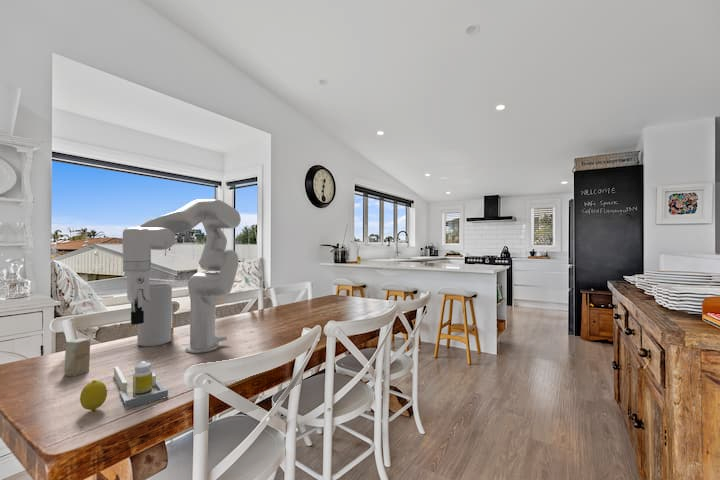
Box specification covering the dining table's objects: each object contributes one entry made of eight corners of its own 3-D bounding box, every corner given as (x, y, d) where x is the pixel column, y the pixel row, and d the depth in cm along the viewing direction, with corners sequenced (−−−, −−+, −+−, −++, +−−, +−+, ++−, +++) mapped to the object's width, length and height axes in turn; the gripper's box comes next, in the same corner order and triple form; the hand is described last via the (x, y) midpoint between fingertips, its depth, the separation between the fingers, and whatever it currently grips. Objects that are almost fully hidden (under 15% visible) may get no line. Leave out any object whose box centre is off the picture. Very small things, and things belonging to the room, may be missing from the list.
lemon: (89, 406, 90) (90, 376, 90) (111, 405, 91) (112, 375, 91) (74, 416, 85) (74, 385, 85) (97, 416, 85) (97, 384, 85)
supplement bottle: (155, 392, 99) (156, 363, 99) (139, 398, 95) (139, 369, 95) (145, 388, 101) (146, 360, 101) (129, 395, 97) (129, 366, 97)
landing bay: (159, 385, 104) (159, 378, 104) (167, 396, 96) (168, 389, 96) (119, 394, 97) (119, 388, 97) (125, 408, 89) (125, 400, 89)
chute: (144, 369, 116) (144, 360, 116) (155, 385, 104) (156, 375, 104) (114, 376, 110) (114, 366, 110) (122, 393, 98) (122, 383, 98)
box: (74, 376, 109) (75, 342, 109) (63, 375, 110) (64, 341, 110) (90, 370, 114) (90, 338, 114) (80, 369, 115) (80, 337, 115)
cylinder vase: (177, 340, 150) (178, 285, 150) (149, 348, 138) (150, 288, 139) (158, 337, 155) (159, 283, 155) (130, 344, 144) (131, 286, 144)
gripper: (156, 267, 104) (156, 326, 104) (145, 264, 115) (146, 317, 115) (127, 269, 99) (127, 330, 99) (119, 265, 110) (119, 320, 110)
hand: (137, 323), depth 107 cm, fingers closed
